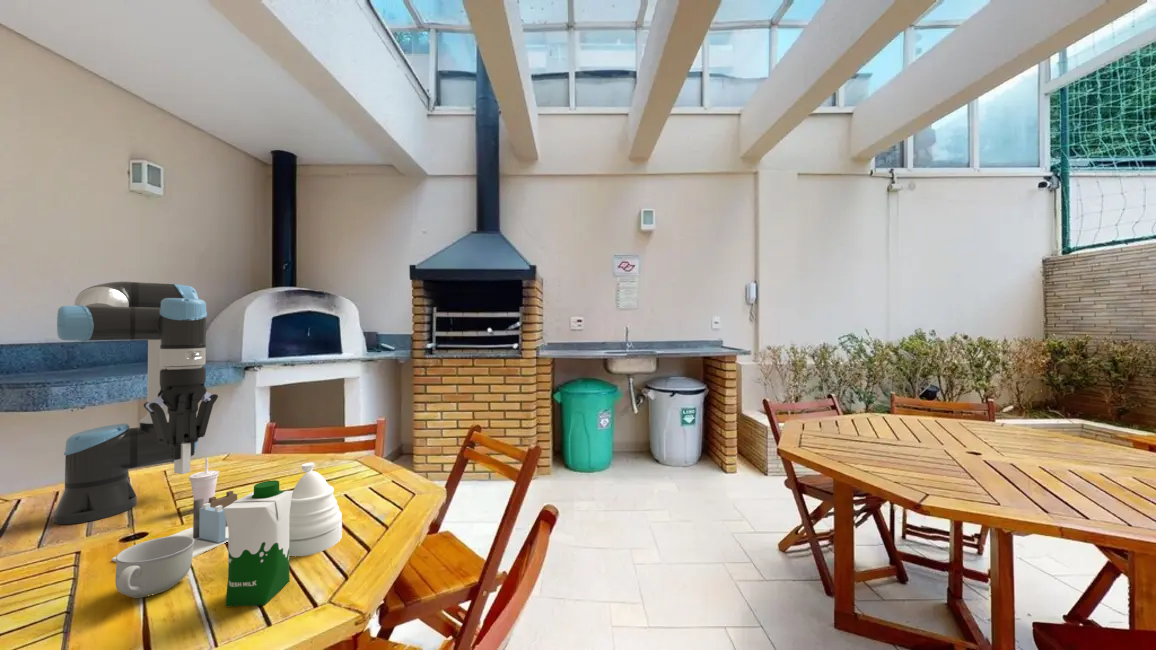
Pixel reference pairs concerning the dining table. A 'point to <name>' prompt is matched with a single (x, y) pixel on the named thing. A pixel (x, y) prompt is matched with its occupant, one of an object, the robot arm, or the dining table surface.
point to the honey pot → (313, 515)
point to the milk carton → (258, 545)
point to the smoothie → (204, 484)
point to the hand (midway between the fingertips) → (182, 472)
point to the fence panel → (212, 523)
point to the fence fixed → (213, 502)
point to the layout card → (198, 542)
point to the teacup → (153, 565)
